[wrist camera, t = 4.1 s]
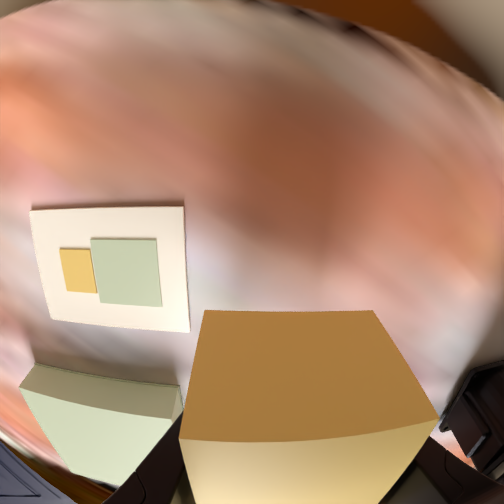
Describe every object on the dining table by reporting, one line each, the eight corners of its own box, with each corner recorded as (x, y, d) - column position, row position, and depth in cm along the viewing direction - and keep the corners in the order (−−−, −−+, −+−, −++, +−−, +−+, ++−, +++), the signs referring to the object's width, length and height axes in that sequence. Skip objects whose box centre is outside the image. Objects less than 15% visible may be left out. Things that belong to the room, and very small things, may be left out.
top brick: (372, 310, 9) (439, 418, 5) (335, 432, 11) (359, 523, 7) (204, 310, 9) (178, 438, 5) (213, 435, 11) (205, 533, 7)
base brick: (180, 380, 16) (172, 418, 14) (196, 466, 20) (192, 497, 17) (38, 358, 16) (17, 386, 13) (81, 446, 20) (71, 472, 17)
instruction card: (183, 206, 13) (182, 207, 12) (190, 330, 15) (189, 333, 14) (31, 210, 12) (27, 211, 12) (52, 317, 14) (50, 319, 14)
